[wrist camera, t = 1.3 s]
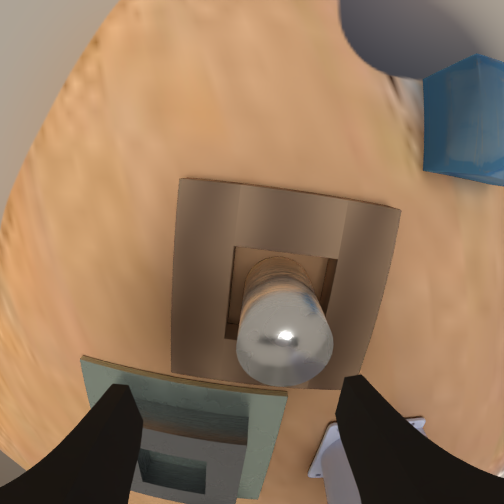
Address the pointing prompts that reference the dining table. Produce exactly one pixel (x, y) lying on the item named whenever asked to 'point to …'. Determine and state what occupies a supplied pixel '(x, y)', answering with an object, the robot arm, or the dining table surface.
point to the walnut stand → (281, 240)
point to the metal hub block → (195, 433)
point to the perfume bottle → (466, 120)
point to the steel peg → (282, 325)
